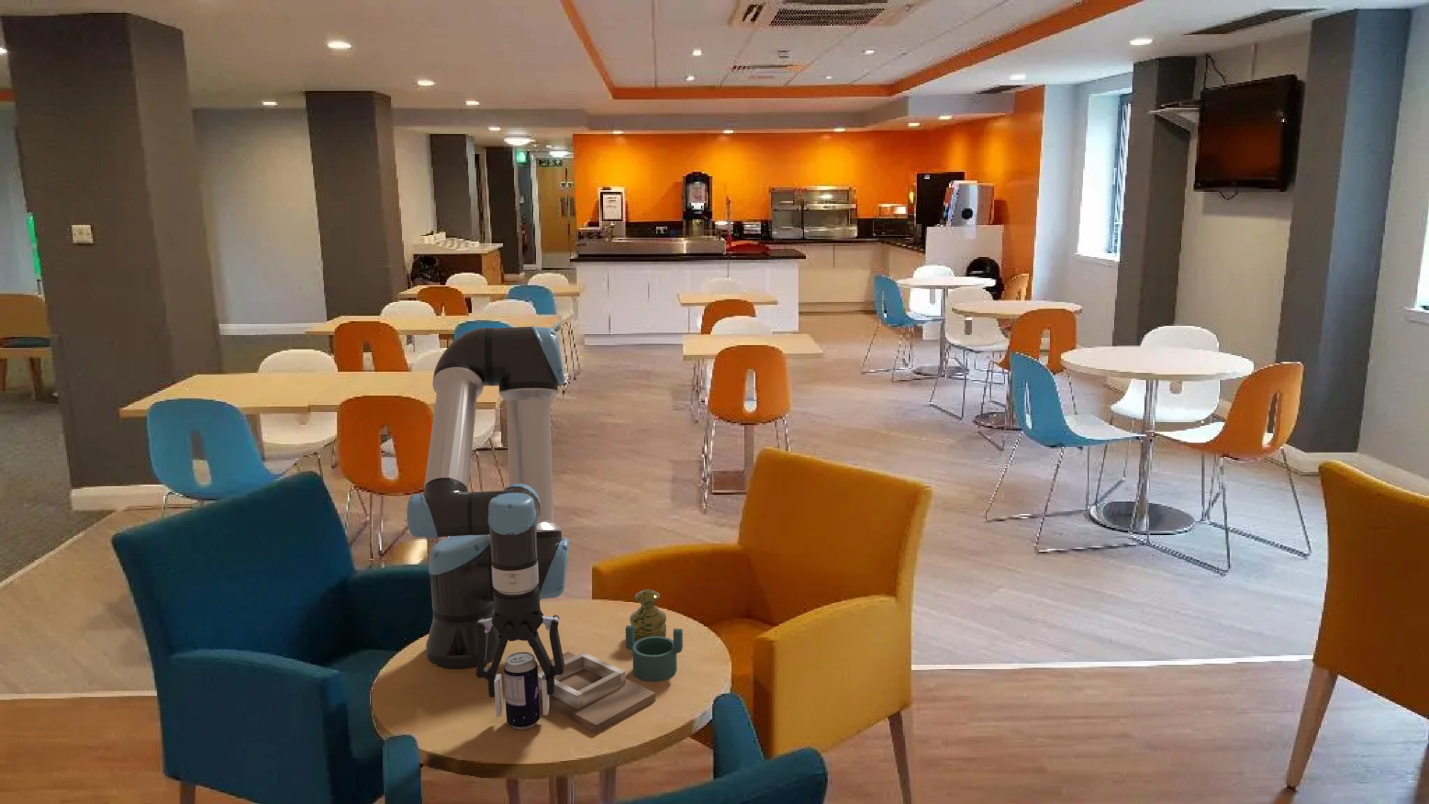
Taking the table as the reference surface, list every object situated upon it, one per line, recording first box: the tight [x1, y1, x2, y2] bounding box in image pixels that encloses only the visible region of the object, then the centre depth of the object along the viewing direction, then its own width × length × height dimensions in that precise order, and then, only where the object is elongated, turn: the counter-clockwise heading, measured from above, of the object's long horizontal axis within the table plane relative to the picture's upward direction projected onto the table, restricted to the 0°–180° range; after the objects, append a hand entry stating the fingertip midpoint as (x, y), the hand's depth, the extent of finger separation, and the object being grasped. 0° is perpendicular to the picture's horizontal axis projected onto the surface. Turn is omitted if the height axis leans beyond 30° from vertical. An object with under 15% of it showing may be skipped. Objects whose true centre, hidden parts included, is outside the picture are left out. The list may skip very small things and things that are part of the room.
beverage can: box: [503, 651, 541, 730], centre depth 165 cm, size 6×6×12 cm
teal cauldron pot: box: [625, 625, 684, 683], centre depth 183 cm, size 9×9×9 cm
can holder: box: [538, 651, 657, 734], centre depth 175 cm, size 24×14×4 cm, turn 49°
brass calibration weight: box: [629, 588, 667, 642], centre depth 197 cm, size 7×7×10 cm
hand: (523, 711), depth 166 cm, fingers open, 7 cm apart
